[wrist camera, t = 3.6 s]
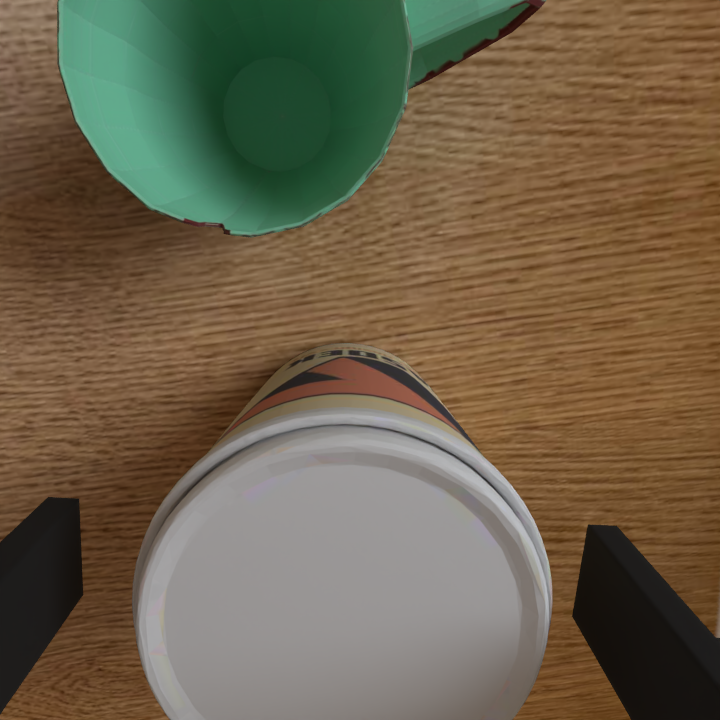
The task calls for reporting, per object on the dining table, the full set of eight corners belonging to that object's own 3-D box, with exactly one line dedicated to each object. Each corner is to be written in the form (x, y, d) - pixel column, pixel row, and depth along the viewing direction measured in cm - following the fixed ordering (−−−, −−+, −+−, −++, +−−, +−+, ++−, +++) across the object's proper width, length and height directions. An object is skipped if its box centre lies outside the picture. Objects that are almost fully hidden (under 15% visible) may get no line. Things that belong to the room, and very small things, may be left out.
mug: (219, 262, 23) (148, 285, 15) (126, 44, 21) (-12, -65, 13) (522, 144, 22) (623, 102, 14) (453, -93, 20) (521, -299, 12)
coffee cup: (488, 350, 24) (625, 480, 12) (427, 558, 26) (493, 843, 14) (254, 296, 23) (156, 378, 11) (212, 514, 25) (91, 774, 13)
